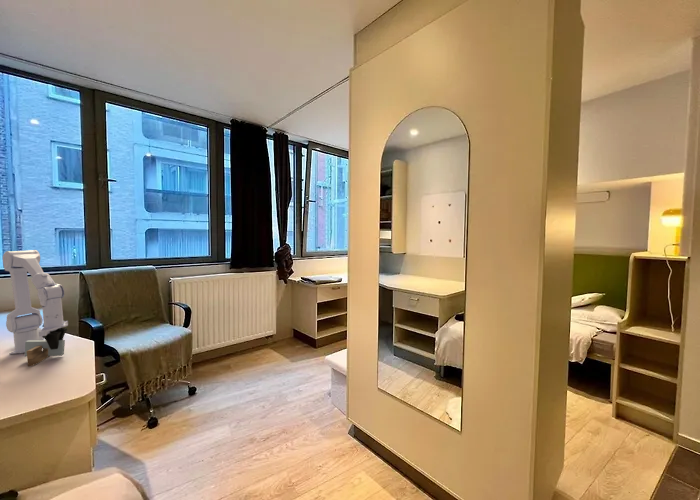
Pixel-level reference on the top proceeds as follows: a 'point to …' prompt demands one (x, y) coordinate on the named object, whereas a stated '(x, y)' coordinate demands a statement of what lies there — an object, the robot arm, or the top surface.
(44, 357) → the walnut plate
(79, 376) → the top surface
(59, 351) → the pale green bar
